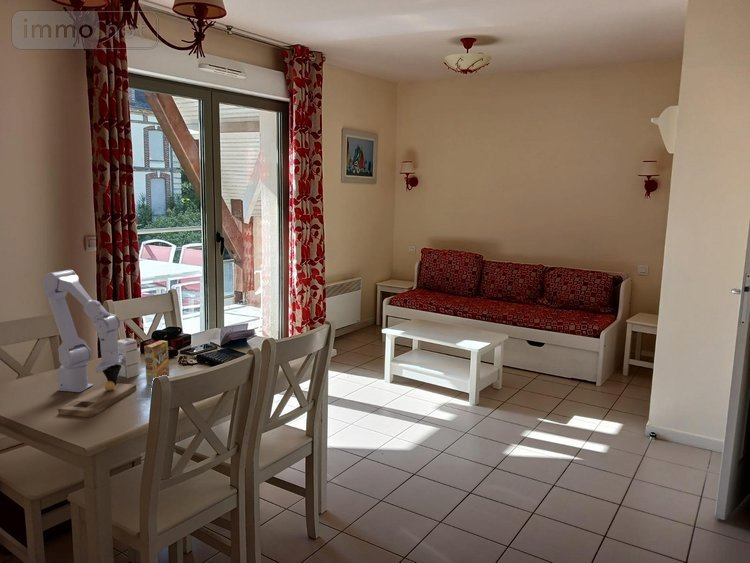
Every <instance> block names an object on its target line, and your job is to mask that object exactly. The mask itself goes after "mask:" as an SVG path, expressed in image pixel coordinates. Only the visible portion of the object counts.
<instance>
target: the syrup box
mask: <svg viewBox="0 0 750 563" xmlns="http://www.w3.org/2000/svg"><path fill="white" fill-rule="evenodd" d="M118 352H119V355H125V361H122V363H120V364H117V365H121V369H120V371H119V374H118V377H121V376H122V378H124V377H125V378H124V379H130V377H131V378H134V377H136V376H139V375H140V371H139V370H140V367H139V356H138V341H137V339H133V338H129V337H126V338H122V339H118Z"/></svg>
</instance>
